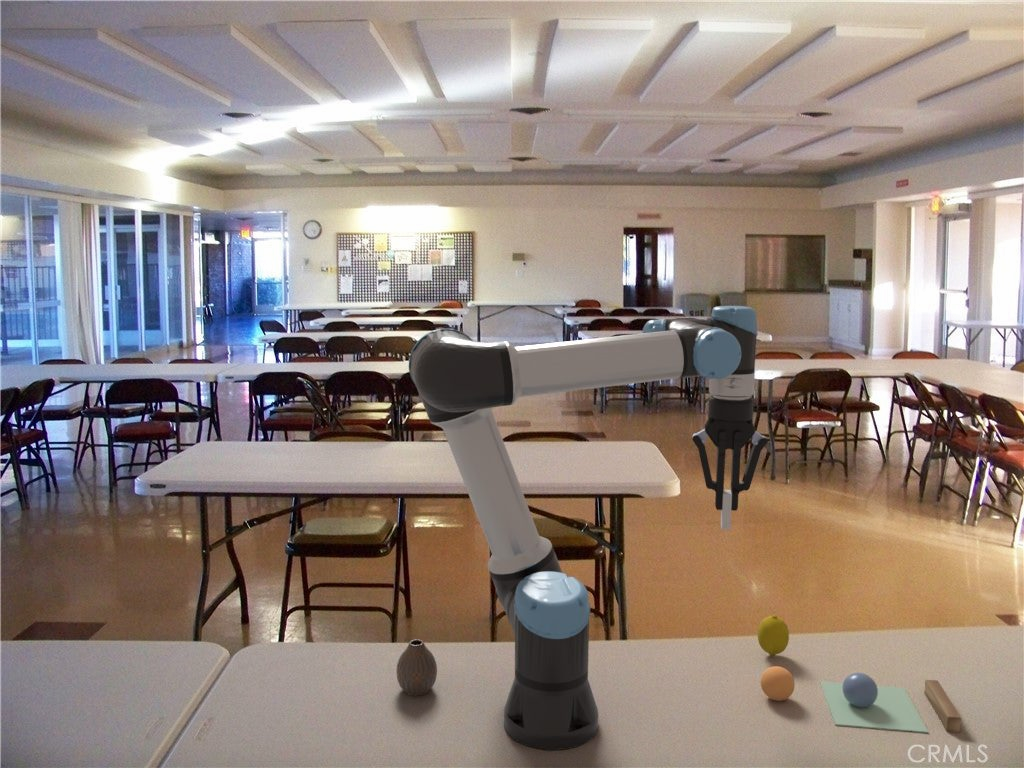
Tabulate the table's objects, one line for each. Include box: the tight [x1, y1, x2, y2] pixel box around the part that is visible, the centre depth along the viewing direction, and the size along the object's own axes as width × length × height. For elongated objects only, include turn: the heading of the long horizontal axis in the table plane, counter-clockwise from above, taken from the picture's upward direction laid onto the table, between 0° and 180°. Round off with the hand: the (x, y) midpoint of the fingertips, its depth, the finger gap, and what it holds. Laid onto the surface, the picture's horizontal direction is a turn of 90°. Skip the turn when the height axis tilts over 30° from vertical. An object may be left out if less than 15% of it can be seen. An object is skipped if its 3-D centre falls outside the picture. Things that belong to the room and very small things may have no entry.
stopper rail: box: [923, 679, 962, 733], centre depth 146 cm, size 2×12×2 cm, turn 171°
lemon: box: [757, 614, 790, 657], centre depth 165 cm, size 6×6×8 cm
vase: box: [396, 639, 438, 697], centre depth 152 cm, size 7×7×9 cm
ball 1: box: [760, 665, 795, 702], centre depth 150 cm, size 6×6×6 cm
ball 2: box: [842, 672, 878, 708], centre depth 148 cm, size 6×6×6 cm
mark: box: [819, 680, 929, 734], centre depth 148 cm, size 14×14×1 cm
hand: (725, 527), depth 157 cm, fingers closed
